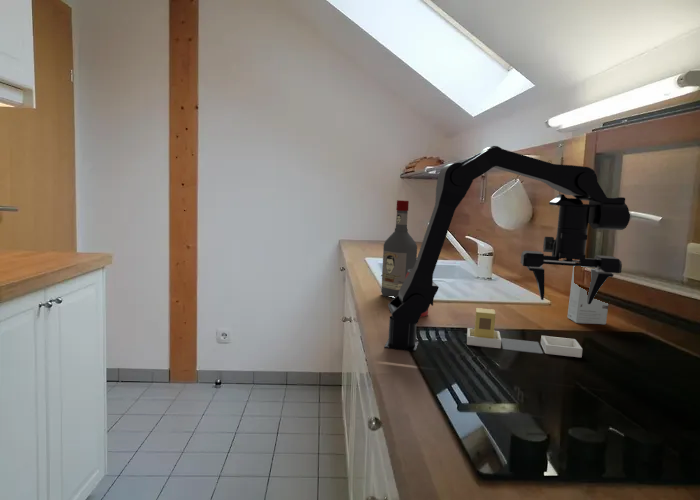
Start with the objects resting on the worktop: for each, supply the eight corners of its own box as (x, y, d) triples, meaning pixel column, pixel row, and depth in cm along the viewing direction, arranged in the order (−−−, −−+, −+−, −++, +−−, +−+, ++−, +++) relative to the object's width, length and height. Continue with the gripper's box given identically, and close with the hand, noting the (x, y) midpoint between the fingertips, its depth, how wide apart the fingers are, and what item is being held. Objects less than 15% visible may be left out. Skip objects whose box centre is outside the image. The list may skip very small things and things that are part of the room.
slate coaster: (543, 355, 101) (543, 353, 101) (503, 351, 103) (503, 348, 102) (537, 344, 108) (537, 342, 108) (500, 340, 110) (500, 338, 110)
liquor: (395, 291, 159) (400, 200, 155) (417, 296, 153) (423, 201, 149) (377, 295, 152) (381, 199, 149) (400, 300, 146) (405, 201, 143)
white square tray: (581, 359, 99) (582, 348, 99) (545, 355, 101) (546, 344, 101) (574, 348, 106) (575, 339, 106) (540, 345, 108) (541, 335, 108)
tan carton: (492, 345, 105) (495, 313, 104) (474, 343, 106) (476, 312, 105) (492, 339, 109) (494, 309, 108) (473, 337, 110) (476, 307, 109)
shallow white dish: (500, 350, 103) (501, 340, 103) (466, 346, 105) (467, 336, 104) (498, 340, 110) (499, 331, 110) (466, 337, 112) (467, 327, 111)
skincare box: (576, 323, 128) (581, 268, 126) (566, 317, 134) (571, 264, 132) (607, 325, 128) (614, 269, 126) (596, 319, 134) (602, 266, 132)
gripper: (610, 228, 106) (603, 298, 108) (521, 223, 110) (515, 290, 112) (626, 232, 95) (617, 309, 97) (526, 226, 100) (520, 300, 101)
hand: (565, 301), depth 102 cm, fingers open, 9 cm apart
